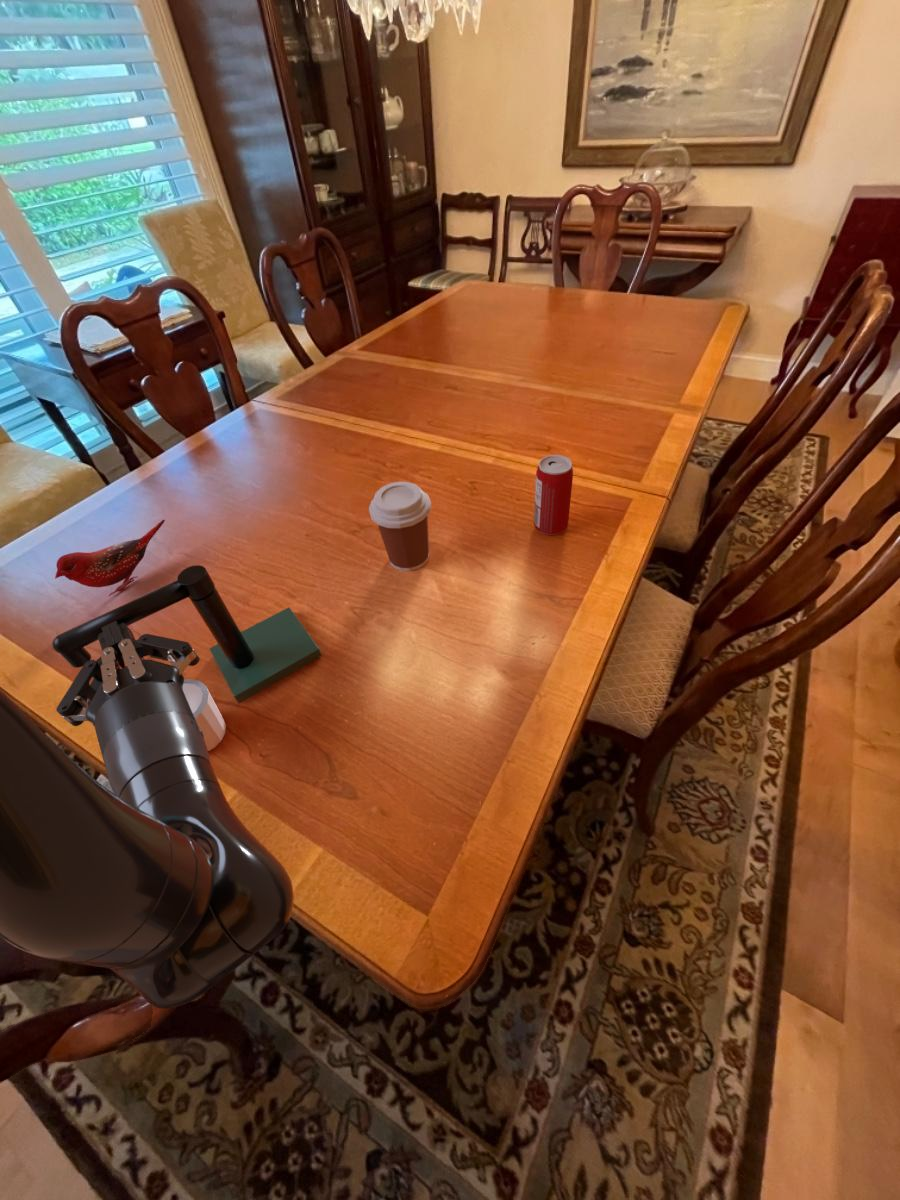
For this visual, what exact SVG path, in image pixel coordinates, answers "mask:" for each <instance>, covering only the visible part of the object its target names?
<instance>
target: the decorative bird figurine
mask: <svg viewBox="0 0 900 1200" xmlns="http://www.w3.org/2000/svg"><path fill="white" fill-rule="evenodd" d="M165 521H166V519H162V520H161V521H159V522H158V523H157V524H156V525H155V526H153V528H151V529H150V530H149V531H147V533H145V534H144V535H143V536H141V537H140V538H138V539H132V540H127V541H122V542H119V543H115V544H113V545H110V546H107V547H105V548H102V549H98V550H95V551H91V552H81V551H77V552H70V553H67V554H63V555H61V556H60V557H59V558H58V559H57V560H56V566H55V567H56V573H55V576H54V579H55V580H56V579H58V578H61V577H65V578H66V579H68V580H69V581H74V582H76V583H77V584H79V585H82V586H85V587H90V588H104V587H110V586H113V585H115V584H118V583H120V582H121V583H122V584H120V585H118V587H116V589H115V591H113V592H111V593H109V594H108V597H110V596H112V595H114V594H116V593H117V592H121V591H123V590H125V588H126V587H127V586H129V585H130V584H132V583H133V582H134V581H135V579H136V578H139V576H138V575H136V576H132V575H133V573H134V571H136V570H135V569H137V567H138V565H139V564H140V563H141V561H142V560H143V558H144V557H145V554H146V551H147V548H148V545H149V543H150V541H151V540H152V538H154V536H155V535H156V534H157V532H158V531H159V530H160V529H161V527H162V526H163V525H164V523H165ZM131 576H132V577H131ZM122 581H123V582H122Z"/></svg>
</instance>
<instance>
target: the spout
mask: <svg viewBox="0 0 900 1200" xmlns="http://www.w3.org/2000/svg"><path fill="white" fill-rule="evenodd" d="M214 587H215V588H216V586H215V582H214V580H213V579H212V577H211V576H210V574H209V572H208V570H207V569H206V567H205V566H203V565H201V564H200V565H199V564H197V565H196V564H195V565H190V566H188V567H186V568H184V569H182V570H181V571H180V572H179V574H178V575H177V579H176V580H175V581H172V582H170V583H168V584H165V585H163V586H161V587H159V588H156V589H154V590H153V591H151V592H149V593H146V594H143V595H142V596H140V597H138V598H135V599H134V600H131V601H129V602H127V603H125V604H123V605H120V606H118V607H115V608H114V609H111V610H110V611H107V612H104V613H103V614H101V615H99V616H96V617H94V618H92V619H90V620H88V621H86V622H83V623H81V624H79V625H77V626H74V627H72V628H70V629H68V630H66V631H64V632H62V633H60V634H58V635H56V636H55V637H54V638H53V640H52V648H53V650H54V651H55V652H56V653H58V654H59V655H60V656H61V657H62V658H63V659H65V661H66V662H68V664H69V665H70V666H71V667H73V668H75V669H77V668H82V667H83V665H84V664H85V663H86V662H87V661H89V660H92V655H91V653H90V652H89V651H88V650H87V649H86V648H85V647H87V646H89V645H91V644H93V643H95V642H97V641H99V639H98V636H99V634H100V633H102V632H103V631H102V627H104V626H106V625H108V624H110V623H112V622H114V621H117V622H118V623H119V624H121V623H124V624H126V625H127V626H128V627H129V626H131V625H133V624H135V623H137V622H139V621H141V620H143V619H145V618H147V617H150V616H151V615H154V614H156V613H158V612H160V611H162V610H165V609H166V608H168V607H170V606H172V605H175V604H177V603H179V602H181V601H183V600H185V599H187V598H188V599H189V600H190V599H194V600H197V599H202V598H204V597H206V596H208V595H209V594H210V593H211V592H212V591H213V590H214Z"/></svg>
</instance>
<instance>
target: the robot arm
mask: <svg viewBox="0 0 900 1200" xmlns="http://www.w3.org/2000/svg"><path fill="white" fill-rule="evenodd" d="M102 631H103V632H102V633H100V634H99V636H98V639H99V640H98V642H99V645H100V649H101V652H100V656H99V658H97V659H96V660H95V659H90V660H89V661H87V662H86V663H85V664H84V665H83V666H82V667H81V668H80V670H79V672H78V673H77V675H76V676H75V678H74V680H73V681H72V682H71V684H70V686H69V688H68V689H67V691H66V692H65V693H64V695H63V697H62V699H61V700H60V702H59V703H58V705H57V706H56V710H55V711H56V712H57V714H59V715H60V716H61V717H62V718H63V719H64V720H65V721H66V722H67V723H69V724H70V725H72V726H73V727H79V726H80V725H82V724H84V722H89V723H91V724H92V726H93V728H94V731H95V733H96V738H97V741H98V745H99V749H100V752H101V756H102V761H103V764H104V768H105V772H106V776H107V779H108V783H109V785H110V788H111V790H110V789H108V788H107V787H106V786H105V785H103V784H102V783H100V782H99V781H98V780H96V778H94V777H93V776H92V775H91V774H89V773H88V772H87V771H86V770H85V769H84V768H82V766H80V765H79V763H77V762H76V761H75V760H74V759H73V758H71V757H70V756H69V755H68V754H67V753H66V752H65V751H64V750H63V749H62V748H61V747H60V746H59V745H58V744H57V743H56V742H55V741H53V739H51V738H50V736H48V734H46V732H44V730H42V729H41V728H40V727H39V726H38V725H37V723H36V722H34V721H33V720H32V719H31V718H30V717H29V716H28V715H27V714H26V713H25V712H24V711H22V709H21V708H19V706H18V705H16V703H14V702H13V701H12V699H10V698H9V697H8V696H7V695H6V694H5V693H4V692H3V691H2V690H1V689H0V938H1V939H3V941H6V942H7V943H9V944H10V945H11V946H13V947H14V948H17V949H19V950H21V951H23V952H25V953H27V954H31V955H34V956H36V957H39V958H40V957H41V958H44V959H49V960H51V961H58V962H65V963H71V964H78V965H85V966H92V967H96V968H97V967H98V968H105V969H110V971H112V972H113V973H114V974H115V975H117V976H118V977H120V979H122V980H123V981H125V982H126V983H127V984H129V985H130V986H131V987H132V988H133V989H134V990H135V991H136V992H137V993H138V994H139V995H140V996H141V997H142V998H143V1000H144V1001H146V1003H149V1005H151V1006H152V1007H154V1008H157V1009H162V1010H167V1009H174V1008H178V1007H182V1006H184V1005H187V1004H189V1003H191V1002H193V1001H195V1000H197V999H198V998H200V997H201V996H203V995H205V994H206V993H207V992H208V991H209V990H211V989H212V988H214V986H216V985H218V983H220V982H221V981H222V980H224V979H225V978H226V977H227V976H228V975H230V974H231V973H233V972H234V971H235V970H236V969H238V968H239V967H240V966H241V965H242V964H244V963H245V962H246V961H247V960H249V959H250V958H252V956H254V955H255V954H256V953H257V952H259V951H260V950H261V949H263V948H264V947H266V946H267V945H268V944H270V943H271V942H272V941H273V940H274V939H275V938H276V937H278V936H279V935H280V934H281V933H282V932H283V931H284V929H285V928H286V927H287V926H288V923H289V922H290V919H291V917H292V913H293V909H294V901H295V900H294V899H295V896H294V886H293V883H292V880H291V877H290V875H289V872H288V871H287V870H286V868H285V867H284V866H283V865H282V863H281V862H280V861H279V860H278V858H277V857H276V856H275V855H274V854H273V853H272V852H271V851H270V850H269V849H268V848H267V847H266V846H265V845H264V844H263V843H261V842H260V841H259V840H258V839H257V838H256V836H254V834H253V833H252V832H251V831H250V830H249V829H248V828H247V826H246V825H244V823H243V822H242V821H241V819H240V818H239V816H238V815H237V814H236V813H235V811H234V810H233V808H232V807H231V805H230V803H229V801H228V799H227V798H226V796H225V793H224V791H223V789H222V786H221V784H220V782H219V780H218V777H217V776H216V772H215V770H214V768H213V766H212V763H211V759H210V755H209V751H208V750H207V746H206V743H205V741H204V735H203V732H202V730H201V729H200V728H199V727H198V724H197V722H196V720H195V718H194V715H193V713H192V711H191V708H190V706H189V704H188V701H187V699H186V697H185V694H184V692H183V683H184V679H185V677H184V675H183V673H184V672H185V670H186V669H187V668H188V667H195V666H196V665H197V664H199V663H200V660H201V659H200V657H199V655H198V654H197V652H196V651H195V650H194V649H193V648H194V647H192V645H191V644H190V642H188V641H185V640H179V639H175V638H170V637H166V636H159V635H155V634H150V633H144V634H142V635H140V636H139V637H138V638H137V639H136V637H135V635H134V633H133V631H132V630H131V629H130V628H129V626H127V625H126V624H124V623H121V624H119V623H118V622H117V621H114V622H112V623H110V624H108V625H106V626H104V627H102ZM147 656H149V657H150V658H152V659H145V657H147ZM153 659H155V660H153ZM156 659H157V660H162V661H165V662H169V663H170V664H169V663H164V662H161V661H157V660H156ZM210 854H211V856H210V857H209V855H210Z"/></svg>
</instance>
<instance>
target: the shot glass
mask: <svg viewBox="0 0 900 1200" xmlns="http://www.w3.org/2000/svg"><path fill="white" fill-rule="evenodd" d="M183 692H184V694H185V697H186V699H187V701H188V704H189V706H190V708H191V711H192V713H193V715H194V718H195V720H196V722H197V724H198V727H199V728H200V729H201V730H202V732H203V735H204V741H205V743H206V746H207V750H208V752H210V751H211V750H212V751H213V749H215V748H216V747H217V746H218V745H219V744H220V743H221V742H222V741H223V738H224V737H225V734H226V731H227V724H226V721H225V719H224V717H223V715H222V713H221V712H220V710H219V708H218V705H217V704H216V702H215V700H214V697H212V695H211V693H210V691H209V689H208V686H206V684H205V683H204V682H202V681H200V680H199V679H193V678H184V683H183Z"/></svg>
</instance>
